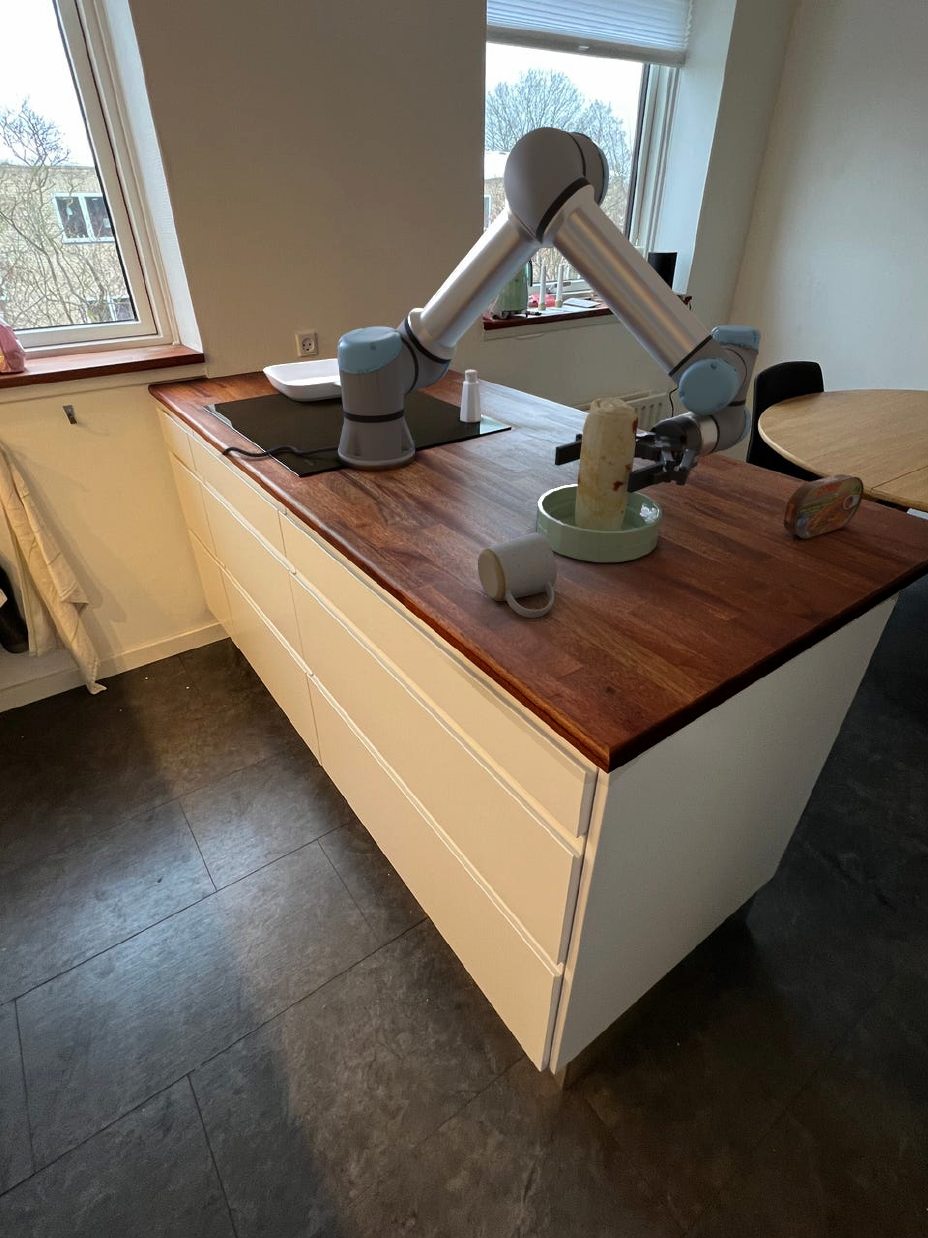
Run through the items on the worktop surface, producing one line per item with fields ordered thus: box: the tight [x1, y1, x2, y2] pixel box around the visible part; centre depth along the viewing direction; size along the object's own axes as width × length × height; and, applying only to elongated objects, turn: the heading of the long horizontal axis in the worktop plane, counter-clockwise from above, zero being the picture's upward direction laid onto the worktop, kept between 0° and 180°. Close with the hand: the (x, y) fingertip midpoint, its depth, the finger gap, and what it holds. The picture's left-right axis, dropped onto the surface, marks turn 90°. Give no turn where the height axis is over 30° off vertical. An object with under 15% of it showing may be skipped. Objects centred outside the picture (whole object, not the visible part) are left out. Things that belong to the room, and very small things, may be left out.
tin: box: [783, 473, 865, 540], centre depth 97 cm, size 15×3×8 cm, turn 117°
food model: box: [575, 396, 639, 531], centre depth 92 cm, size 10×7×20 cm
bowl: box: [535, 483, 663, 563], centre depth 96 cm, size 18×18×5 cm
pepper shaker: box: [459, 369, 482, 423], centre depth 147 cm, size 5×5×11 cm
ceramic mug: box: [477, 532, 558, 619], centre depth 80 cm, size 11×8×8 cm
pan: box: [262, 358, 342, 402], centre depth 168 cm, size 27×42×5 cm, turn 32°
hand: (591, 469), depth 90 cm, fingers open, 13 cm apart
